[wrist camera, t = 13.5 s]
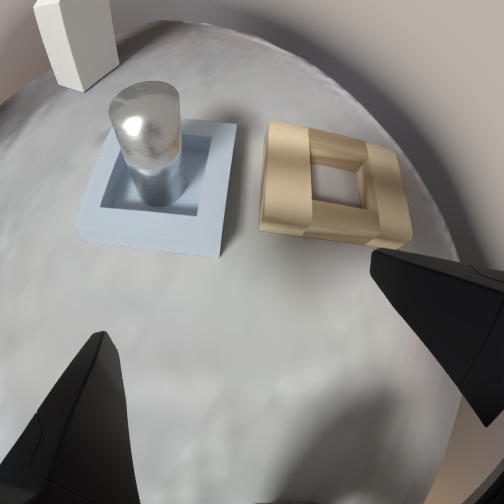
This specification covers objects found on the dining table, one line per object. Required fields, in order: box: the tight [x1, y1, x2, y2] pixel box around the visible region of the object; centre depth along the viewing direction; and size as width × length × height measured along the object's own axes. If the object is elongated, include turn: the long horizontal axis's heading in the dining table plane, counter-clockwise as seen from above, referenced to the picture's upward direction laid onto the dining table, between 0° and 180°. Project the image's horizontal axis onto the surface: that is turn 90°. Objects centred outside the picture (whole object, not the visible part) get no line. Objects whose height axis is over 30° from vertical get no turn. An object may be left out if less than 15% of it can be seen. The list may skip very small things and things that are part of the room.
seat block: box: [73, 119, 237, 258], centre depth 23 cm, size 12×12×3 cm
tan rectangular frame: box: [258, 120, 413, 250], centre depth 25 cm, size 10×14×3 cm
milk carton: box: [33, 0, 119, 92], centre depth 20 cm, size 7×7×19 cm
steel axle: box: [109, 81, 186, 207], centre depth 19 cm, size 4×4×10 cm
